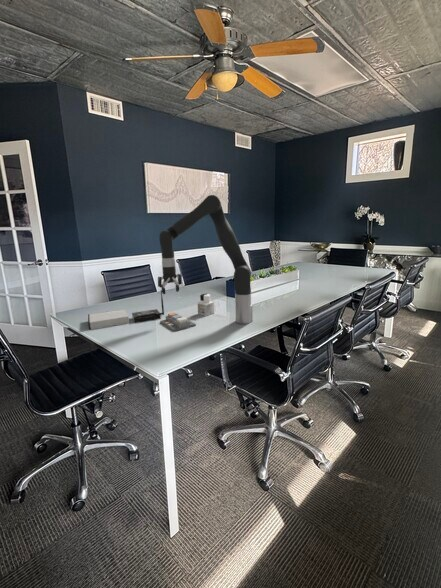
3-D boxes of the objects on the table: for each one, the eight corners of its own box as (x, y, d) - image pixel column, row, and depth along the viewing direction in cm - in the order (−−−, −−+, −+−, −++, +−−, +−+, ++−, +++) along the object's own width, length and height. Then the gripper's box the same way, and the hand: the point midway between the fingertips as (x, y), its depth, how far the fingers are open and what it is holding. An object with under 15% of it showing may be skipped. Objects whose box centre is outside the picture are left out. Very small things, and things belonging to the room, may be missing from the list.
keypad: (181, 317, 186) (180, 312, 185) (195, 325, 171) (195, 320, 170) (160, 322, 179) (159, 317, 178) (173, 331, 163) (173, 325, 162)
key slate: (179, 317, 177) (178, 314, 176) (182, 319, 173) (182, 316, 173) (172, 319, 175) (172, 316, 174) (175, 321, 171) (175, 317, 170)
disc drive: (89, 321, 187) (87, 314, 186) (125, 316, 196) (125, 308, 194) (89, 330, 171) (88, 322, 170) (129, 323, 180) (128, 316, 179)
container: (197, 313, 193) (196, 294, 190) (206, 311, 198) (205, 292, 195) (206, 316, 188) (205, 296, 185) (214, 313, 193) (213, 293, 190)
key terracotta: (174, 315, 182) (174, 312, 181) (177, 317, 178) (177, 313, 178) (168, 316, 179) (167, 313, 179) (171, 318, 176) (170, 315, 175)
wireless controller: (135, 324, 179) (132, 296, 175) (132, 317, 191) (129, 292, 187) (167, 318, 186) (165, 292, 182) (162, 313, 199) (160, 288, 195)
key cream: (183, 320, 172) (183, 317, 172) (187, 322, 168) (186, 318, 168) (176, 321, 170) (176, 318, 169) (180, 323, 166) (179, 320, 166)
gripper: (176, 263, 177) (178, 289, 181) (154, 266, 170) (156, 293, 174) (182, 264, 171) (184, 291, 175) (159, 267, 164) (162, 295, 168)
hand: (170, 292), depth 175 cm, fingers open, 8 cm apart
